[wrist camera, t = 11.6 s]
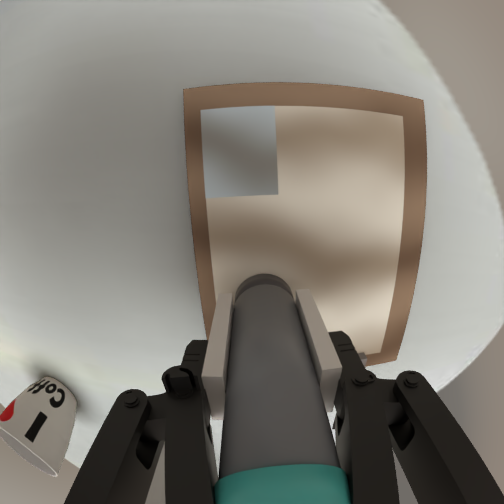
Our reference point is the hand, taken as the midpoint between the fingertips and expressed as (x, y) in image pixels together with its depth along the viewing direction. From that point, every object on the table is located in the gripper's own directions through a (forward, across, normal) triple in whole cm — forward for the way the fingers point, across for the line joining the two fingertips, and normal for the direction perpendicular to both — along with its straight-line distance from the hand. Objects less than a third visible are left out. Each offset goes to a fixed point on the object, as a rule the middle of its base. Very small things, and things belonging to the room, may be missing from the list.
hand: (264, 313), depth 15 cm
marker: (+2, 0, 0) cm, 2 cm away
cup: (+3, -24, -13) cm, 27 cm away
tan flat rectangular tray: (+2, +4, +3) cm, 5 cm away
